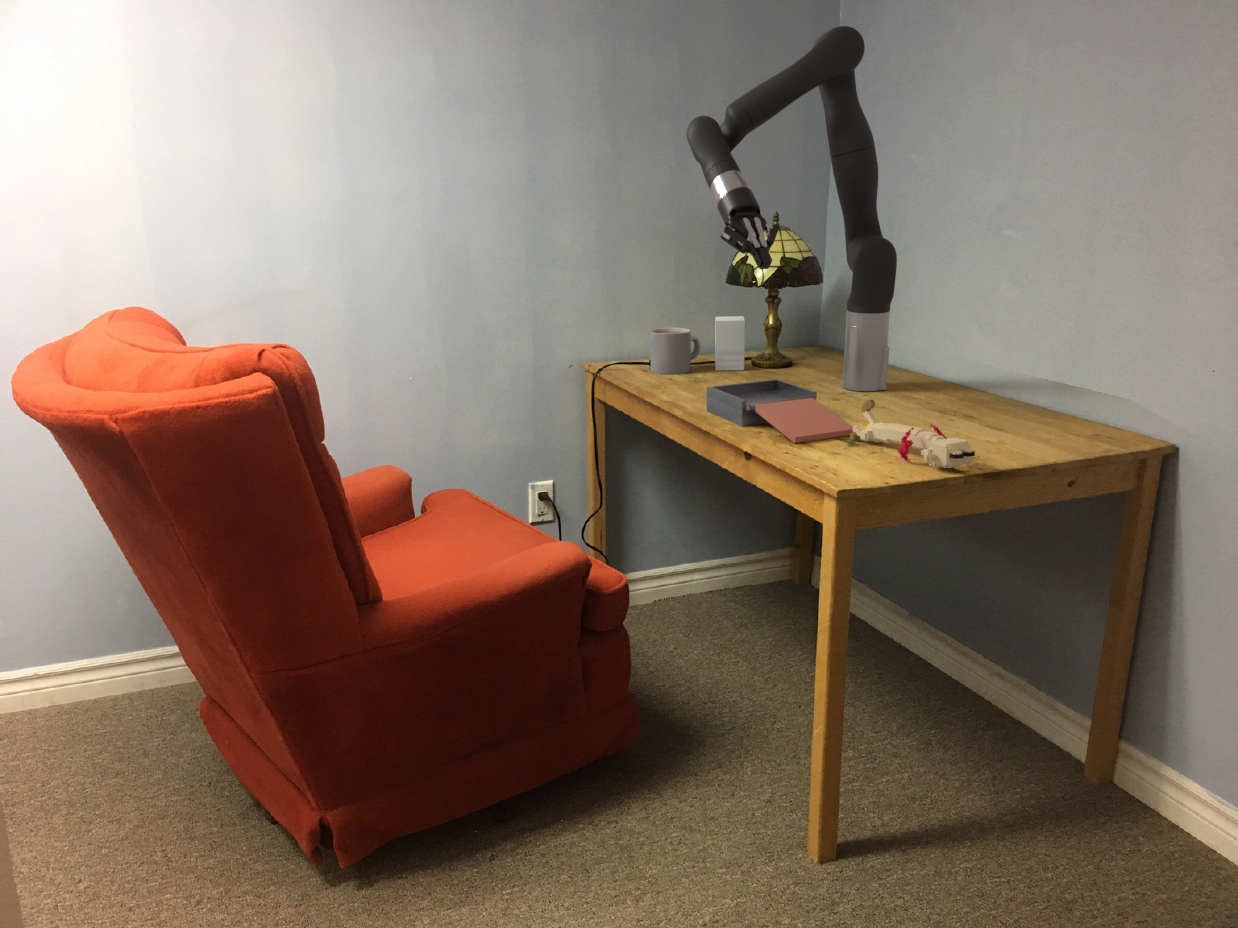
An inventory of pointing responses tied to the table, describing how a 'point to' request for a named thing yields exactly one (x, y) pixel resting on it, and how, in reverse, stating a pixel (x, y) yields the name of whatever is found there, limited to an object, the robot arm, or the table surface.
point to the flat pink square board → (802, 419)
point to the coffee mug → (672, 350)
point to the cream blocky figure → (916, 441)
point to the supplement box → (729, 343)
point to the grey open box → (750, 399)
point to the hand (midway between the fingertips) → (766, 266)
